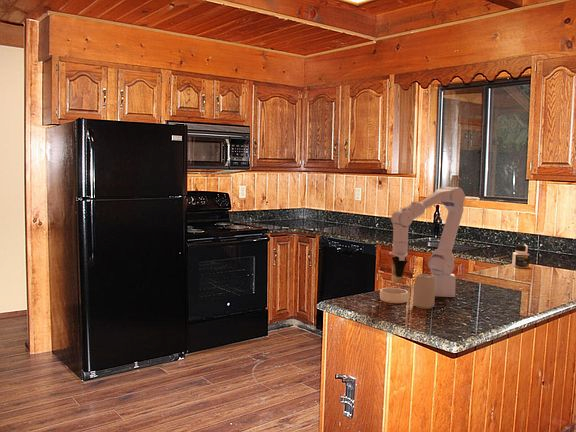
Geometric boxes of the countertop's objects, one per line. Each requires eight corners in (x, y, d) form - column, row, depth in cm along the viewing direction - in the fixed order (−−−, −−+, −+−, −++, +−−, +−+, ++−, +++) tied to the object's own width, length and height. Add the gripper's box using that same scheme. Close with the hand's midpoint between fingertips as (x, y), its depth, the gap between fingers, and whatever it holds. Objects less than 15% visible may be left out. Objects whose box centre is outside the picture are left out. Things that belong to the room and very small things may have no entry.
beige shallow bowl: (405, 297, 219) (405, 288, 219) (409, 303, 209) (409, 294, 209) (378, 296, 220) (379, 287, 220) (381, 302, 210) (381, 293, 209)
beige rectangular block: (401, 281, 217) (402, 264, 217) (402, 283, 215) (403, 265, 214) (391, 281, 218) (391, 264, 217) (392, 283, 215) (392, 265, 214)
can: (430, 304, 209) (432, 273, 208) (436, 309, 201) (438, 277, 200) (411, 304, 209) (412, 272, 208) (416, 309, 201) (417, 276, 200)
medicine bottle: (515, 267, 293) (516, 245, 292) (511, 265, 300) (513, 243, 299) (529, 268, 292) (530, 245, 291) (525, 265, 299) (527, 243, 298)
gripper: (387, 238, 222) (386, 272, 223) (392, 243, 208) (390, 279, 209) (405, 239, 222) (403, 272, 223) (411, 244, 207) (409, 280, 209)
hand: (398, 276), depth 216 cm, fingers closed on beige rectangular block, 2 cm apart
